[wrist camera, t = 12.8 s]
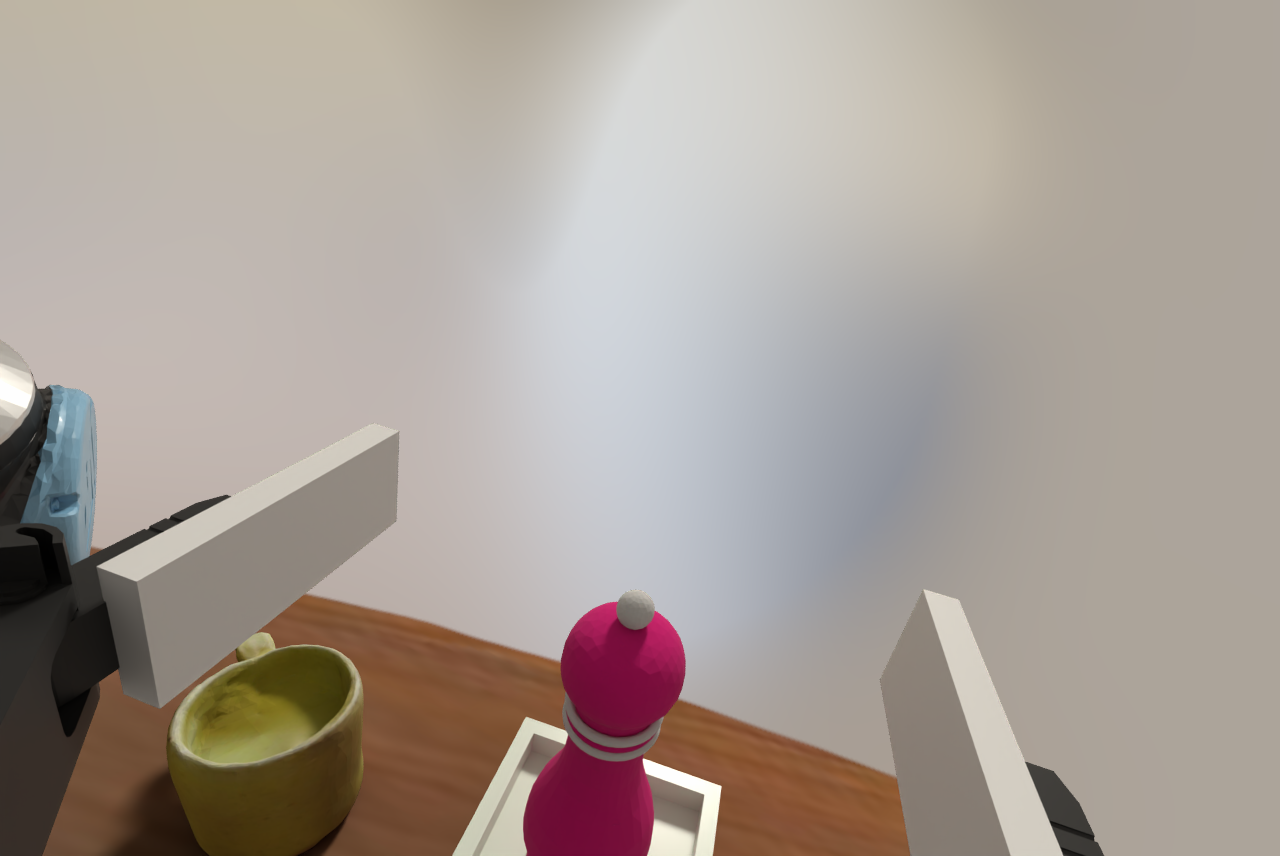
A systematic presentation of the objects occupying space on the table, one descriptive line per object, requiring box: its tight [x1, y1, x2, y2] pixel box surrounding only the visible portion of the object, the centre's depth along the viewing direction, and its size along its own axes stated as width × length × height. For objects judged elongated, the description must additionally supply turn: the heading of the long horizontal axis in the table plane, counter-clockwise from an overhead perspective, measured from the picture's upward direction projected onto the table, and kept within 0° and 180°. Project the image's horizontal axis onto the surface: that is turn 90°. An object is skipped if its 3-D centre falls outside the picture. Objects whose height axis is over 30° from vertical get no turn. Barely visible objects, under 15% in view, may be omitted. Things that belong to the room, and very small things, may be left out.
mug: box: [166, 633, 363, 856], centre depth 35 cm, size 12×10×10 cm
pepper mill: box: [523, 590, 685, 856], centre depth 31 cm, size 7×7×20 cm
